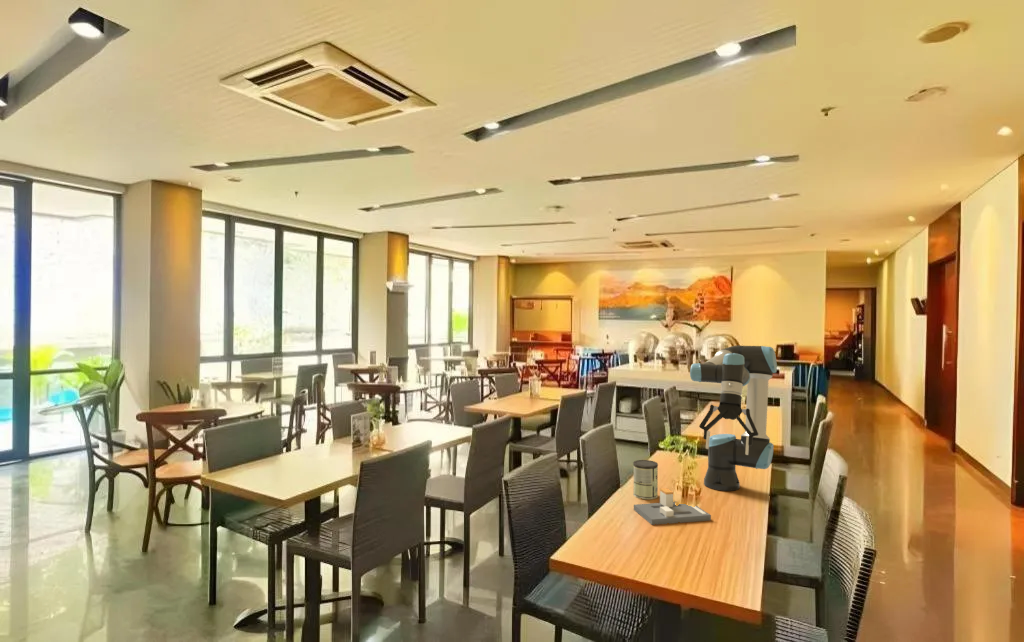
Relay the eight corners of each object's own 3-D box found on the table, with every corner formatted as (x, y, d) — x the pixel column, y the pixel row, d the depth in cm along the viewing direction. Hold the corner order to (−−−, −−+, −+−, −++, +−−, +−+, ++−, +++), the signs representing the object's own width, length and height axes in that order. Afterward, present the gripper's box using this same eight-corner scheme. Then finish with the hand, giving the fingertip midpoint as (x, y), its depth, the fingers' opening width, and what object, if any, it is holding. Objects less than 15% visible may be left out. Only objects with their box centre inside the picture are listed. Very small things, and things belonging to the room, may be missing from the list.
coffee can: (631, 491, 238) (631, 459, 238) (655, 492, 237) (655, 460, 237) (634, 499, 227) (634, 465, 227) (659, 500, 226) (659, 466, 226)
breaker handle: (666, 502, 216) (666, 488, 216) (672, 506, 211) (673, 492, 211) (659, 502, 216) (660, 488, 216) (665, 507, 211) (665, 492, 211)
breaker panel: (688, 505, 220) (689, 495, 220) (710, 520, 204) (710, 509, 204) (633, 509, 215) (633, 499, 215) (651, 524, 199) (651, 514, 199)
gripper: (694, 389, 206) (689, 445, 201) (767, 396, 194) (763, 456, 189) (698, 392, 212) (692, 447, 207) (768, 399, 200) (764, 457, 195)
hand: (726, 451), depth 198 cm, fingers open, 13 cm apart
